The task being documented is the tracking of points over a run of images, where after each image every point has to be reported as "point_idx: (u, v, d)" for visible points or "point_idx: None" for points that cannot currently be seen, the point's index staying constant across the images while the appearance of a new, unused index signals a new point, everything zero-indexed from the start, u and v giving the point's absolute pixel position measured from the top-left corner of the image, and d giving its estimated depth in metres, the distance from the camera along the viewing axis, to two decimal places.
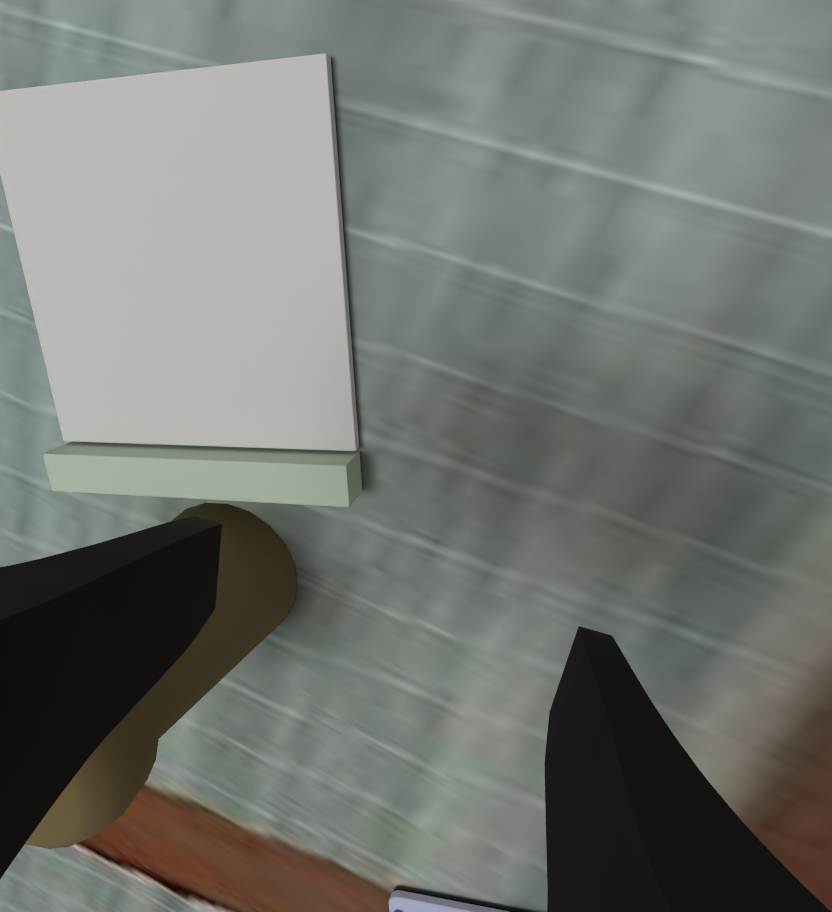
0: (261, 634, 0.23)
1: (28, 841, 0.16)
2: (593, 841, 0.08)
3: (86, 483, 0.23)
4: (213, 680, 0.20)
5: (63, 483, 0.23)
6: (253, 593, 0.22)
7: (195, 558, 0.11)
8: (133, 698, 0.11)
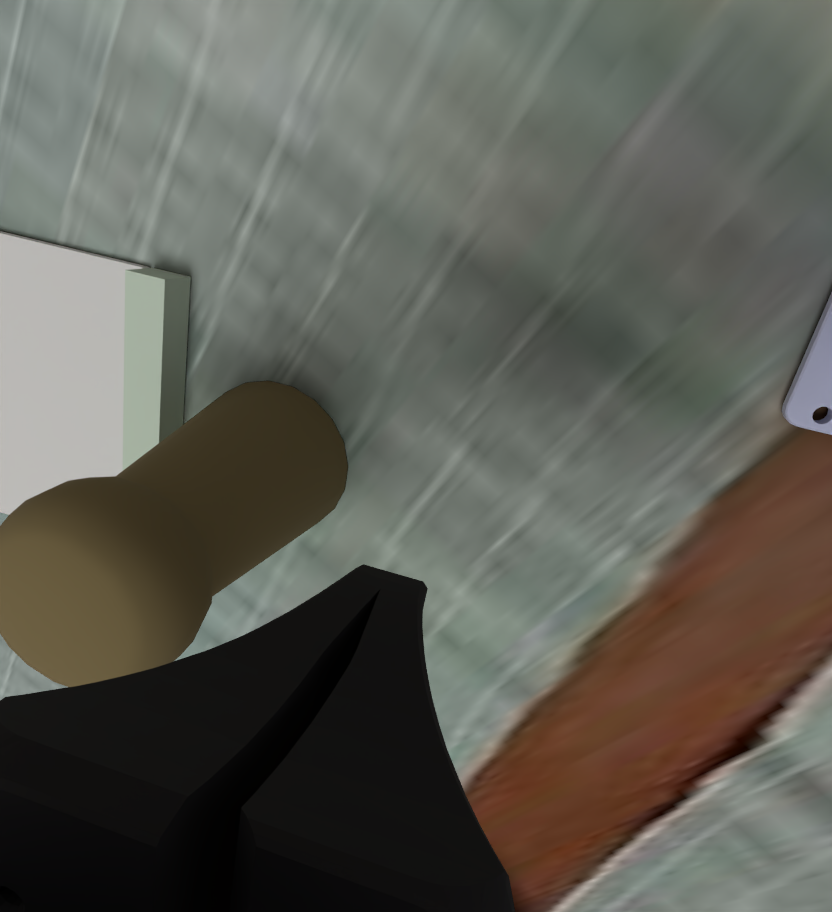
0: (280, 422, 0.20)
1: (118, 636, 0.13)
2: None
3: None
4: (232, 458, 0.18)
5: None
6: (224, 407, 0.20)
7: None
8: None
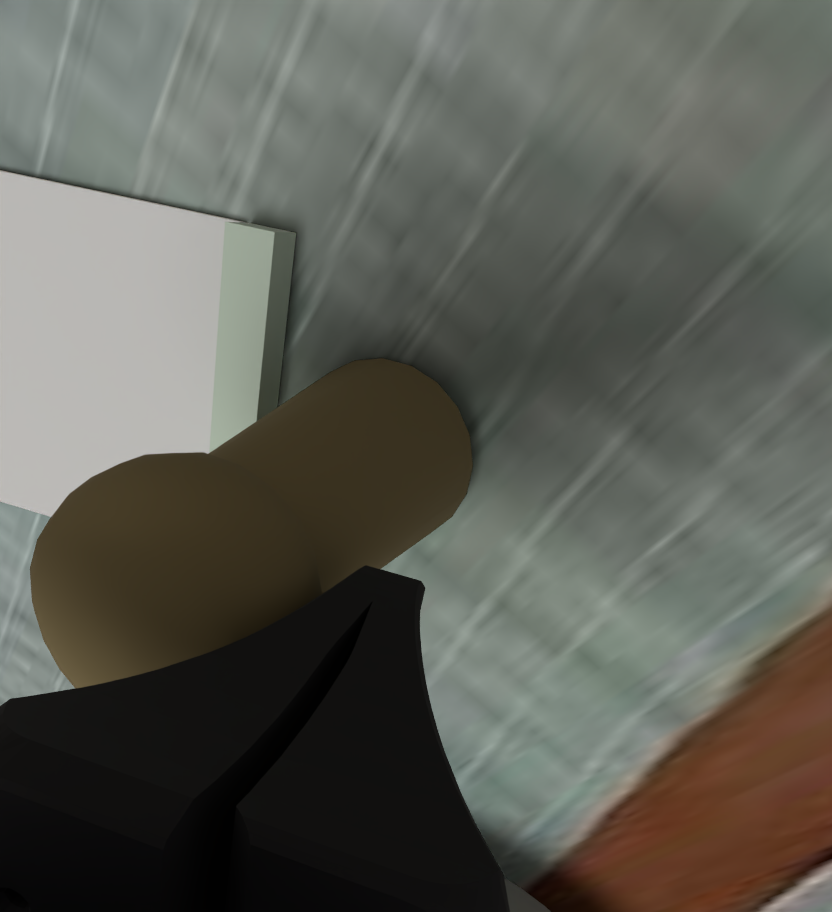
0: (399, 404, 0.16)
1: None
2: None
3: None
4: (346, 441, 0.14)
5: None
6: (332, 384, 0.17)
7: None
8: None
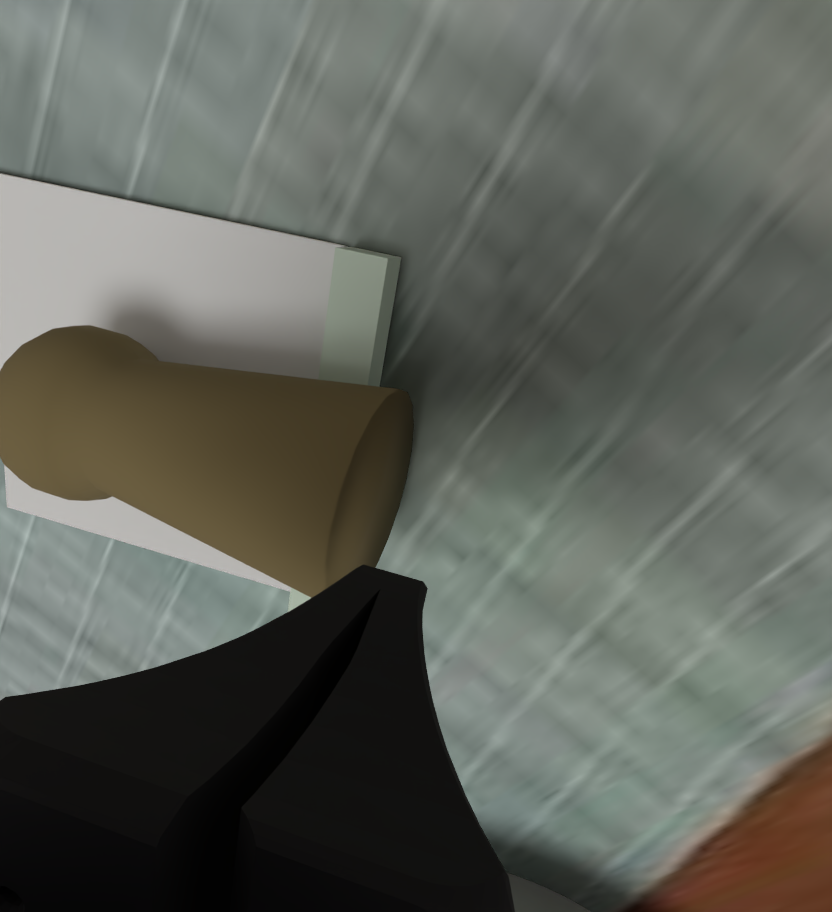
0: (285, 400, 0.15)
1: None
2: None
3: None
4: (189, 385, 0.16)
5: None
6: None
7: None
8: None
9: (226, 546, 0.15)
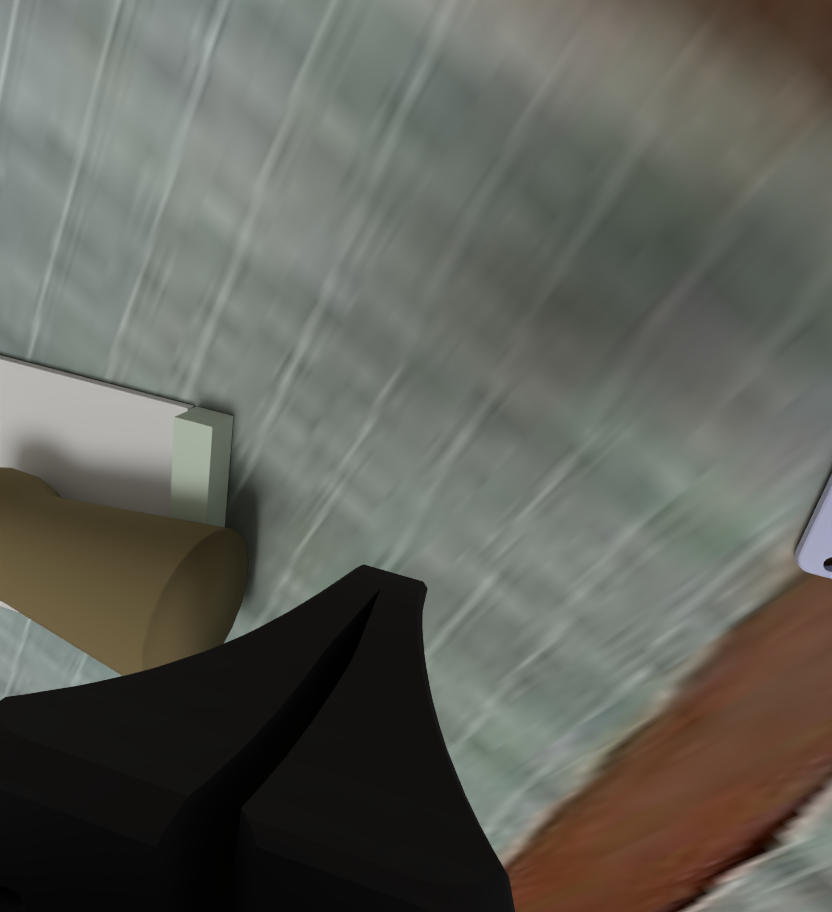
0: (122, 545, 0.20)
1: None
2: None
3: None
4: (57, 528, 0.21)
5: None
6: (155, 517, 0.22)
7: None
8: None
9: None
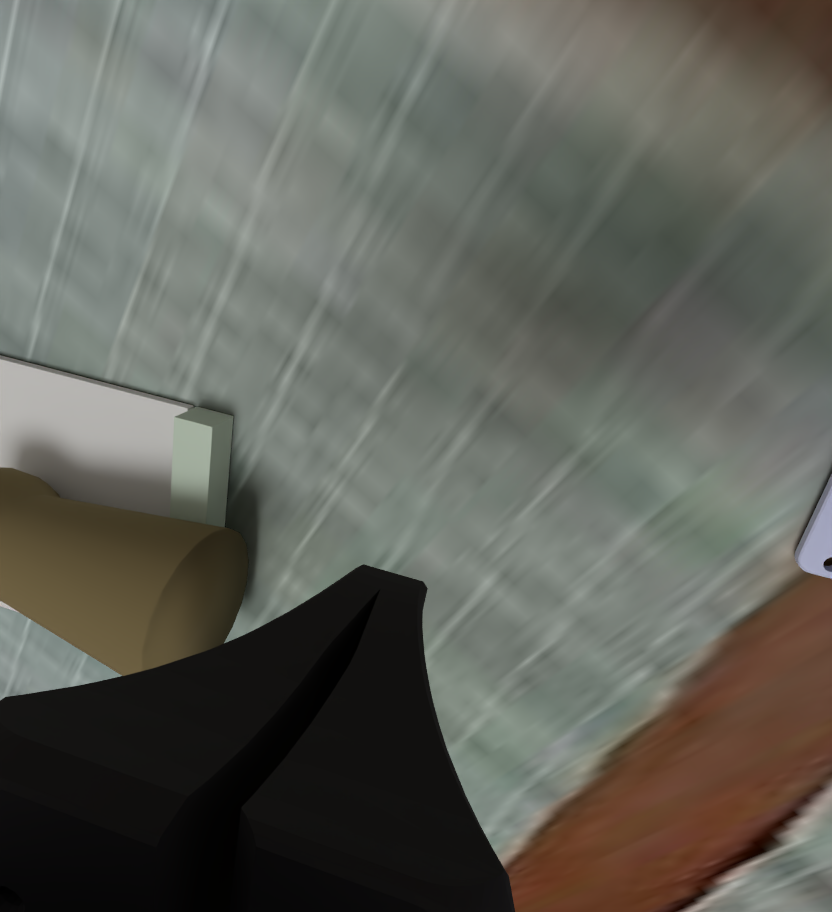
0: (122, 545, 0.20)
1: None
2: None
3: None
4: (57, 528, 0.21)
5: None
6: (155, 517, 0.22)
7: None
8: None
9: None
